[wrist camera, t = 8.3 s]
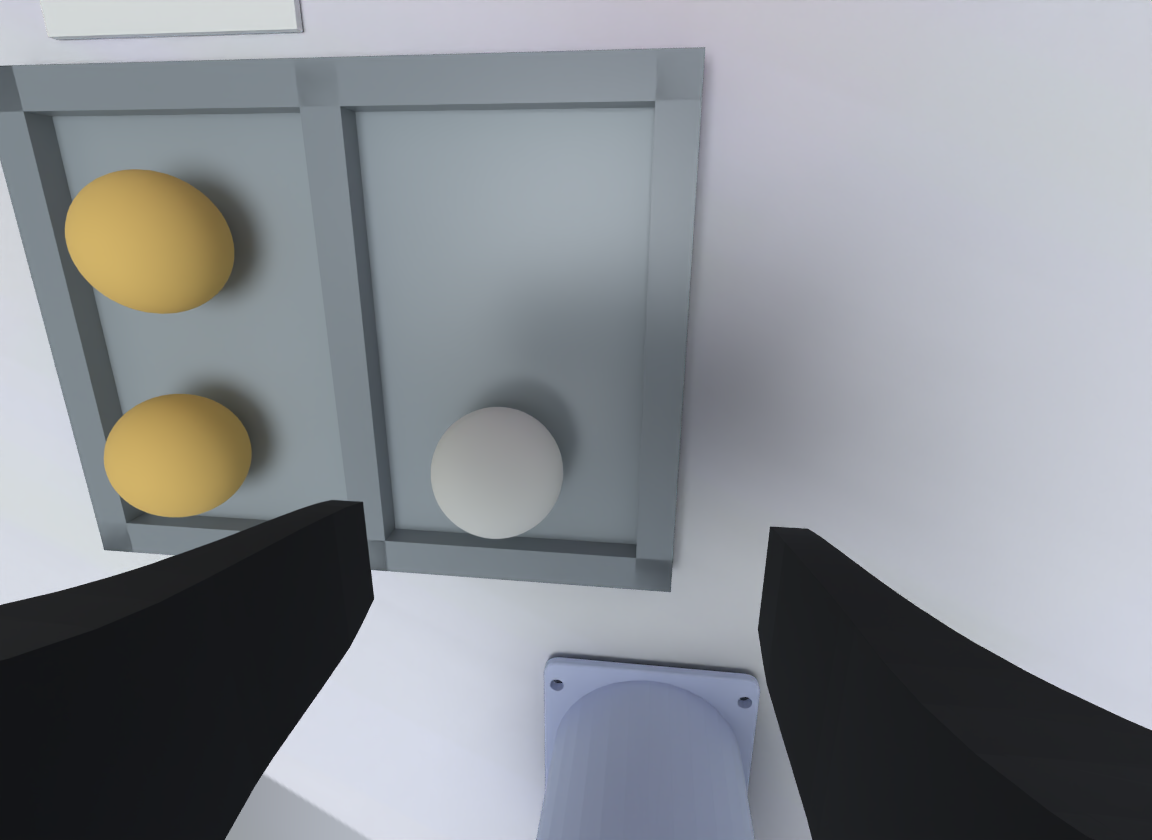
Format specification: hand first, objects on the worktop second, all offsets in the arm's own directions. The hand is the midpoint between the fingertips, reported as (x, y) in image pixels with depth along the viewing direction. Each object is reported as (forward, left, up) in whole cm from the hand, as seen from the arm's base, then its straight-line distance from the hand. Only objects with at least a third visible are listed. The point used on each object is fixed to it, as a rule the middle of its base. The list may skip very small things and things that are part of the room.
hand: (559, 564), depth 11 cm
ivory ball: (-2, +3, -9) cm, 10 cm away
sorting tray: (+2, +8, -10) cm, 13 cm away
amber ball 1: (+5, +13, -9) cm, 17 cm away
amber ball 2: (-2, +13, -9) cm, 17 cm away
